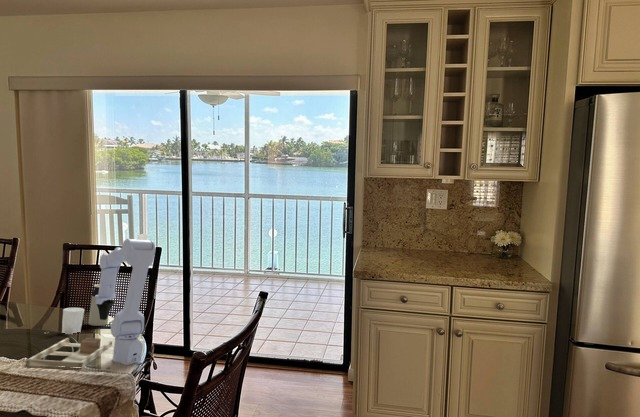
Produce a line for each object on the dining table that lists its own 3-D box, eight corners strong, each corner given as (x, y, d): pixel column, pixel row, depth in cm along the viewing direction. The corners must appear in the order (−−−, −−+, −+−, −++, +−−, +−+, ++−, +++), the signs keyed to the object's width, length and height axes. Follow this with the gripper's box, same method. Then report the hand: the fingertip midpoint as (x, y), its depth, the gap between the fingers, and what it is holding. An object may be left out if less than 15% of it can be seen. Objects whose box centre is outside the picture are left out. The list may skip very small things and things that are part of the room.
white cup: (72, 336, 178) (75, 312, 178) (55, 333, 180) (58, 309, 180) (85, 332, 186) (88, 309, 186) (70, 329, 187) (72, 306, 188)
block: (85, 348, 161) (86, 337, 162) (99, 349, 162) (100, 338, 162) (79, 352, 156) (80, 341, 157) (93, 353, 157) (95, 342, 157)
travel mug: (84, 324, 198) (89, 285, 199) (97, 321, 206) (101, 283, 206) (99, 327, 196) (104, 287, 197) (111, 323, 204) (115, 285, 205)
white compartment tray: (65, 345, 166) (66, 338, 166) (111, 348, 168) (112, 341, 168) (25, 368, 139) (26, 359, 139) (80, 371, 141) (81, 363, 141)
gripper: (104, 281, 177) (100, 314, 176) (89, 286, 163) (84, 322, 162) (122, 283, 178) (118, 316, 177) (108, 288, 163) (104, 324, 163)
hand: (103, 319), depth 170 cm, fingers closed
